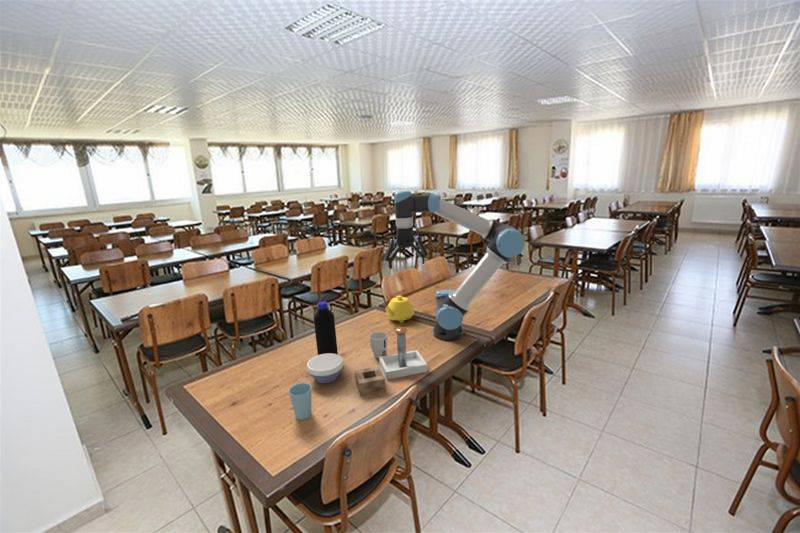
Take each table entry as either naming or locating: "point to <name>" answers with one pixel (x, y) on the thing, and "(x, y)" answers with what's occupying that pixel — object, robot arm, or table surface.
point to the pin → (401, 346)
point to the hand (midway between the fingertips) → (407, 273)
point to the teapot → (399, 309)
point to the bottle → (325, 330)
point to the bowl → (325, 367)
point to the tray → (393, 371)
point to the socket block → (369, 380)
